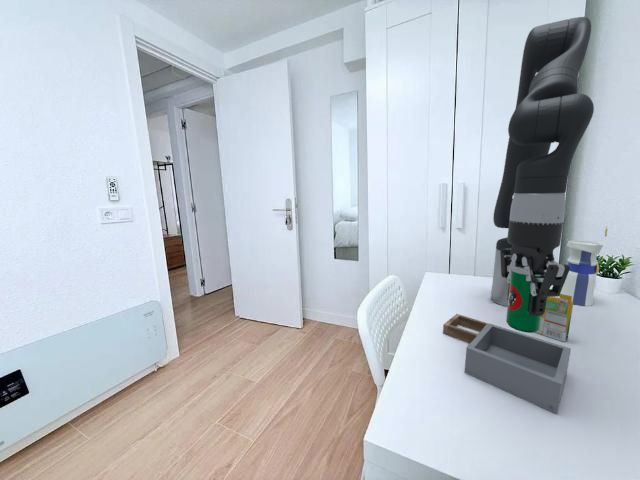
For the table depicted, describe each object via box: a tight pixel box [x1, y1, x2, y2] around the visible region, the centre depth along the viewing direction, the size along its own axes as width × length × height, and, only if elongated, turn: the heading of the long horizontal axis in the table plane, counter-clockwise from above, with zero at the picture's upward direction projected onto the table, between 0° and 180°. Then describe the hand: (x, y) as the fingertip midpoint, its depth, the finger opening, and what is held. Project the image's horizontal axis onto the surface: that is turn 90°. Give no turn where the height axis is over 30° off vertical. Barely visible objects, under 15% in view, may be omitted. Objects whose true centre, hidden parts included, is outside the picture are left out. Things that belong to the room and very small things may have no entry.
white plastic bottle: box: [560, 225, 608, 307], centre depth 83 cm, size 8×9×25 cm
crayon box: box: [535, 293, 574, 343], centre depth 65 cm, size 7×3×12 cm, turn 37°
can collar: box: [442, 313, 489, 344], centre depth 67 cm, size 8×8×2 cm
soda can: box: [506, 265, 544, 334], centre depth 50 cm, size 5×5×12 cm
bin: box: [464, 323, 572, 415], centre depth 52 cm, size 14×14×6 cm
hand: (524, 307), depth 50 cm, fingers closed on soda can, 5 cm apart
